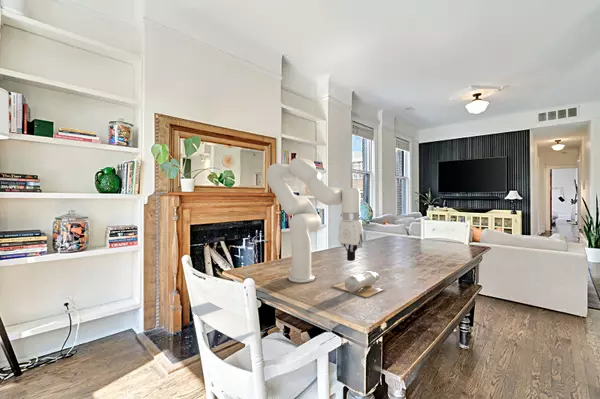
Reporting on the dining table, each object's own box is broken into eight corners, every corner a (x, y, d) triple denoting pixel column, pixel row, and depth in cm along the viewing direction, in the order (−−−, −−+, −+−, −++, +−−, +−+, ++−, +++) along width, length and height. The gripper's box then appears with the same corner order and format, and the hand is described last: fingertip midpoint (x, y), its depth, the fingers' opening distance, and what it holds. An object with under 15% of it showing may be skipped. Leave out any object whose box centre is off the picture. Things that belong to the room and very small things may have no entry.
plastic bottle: (358, 288, 112) (385, 279, 125) (349, 273, 115) (376, 266, 129) (348, 296, 115) (375, 286, 129) (340, 281, 119) (367, 273, 132)
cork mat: (332, 286, 125) (332, 285, 125) (349, 281, 133) (349, 280, 133) (366, 297, 111) (366, 296, 111) (383, 290, 119) (383, 289, 119)
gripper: (331, 216, 122) (331, 258, 122) (360, 218, 111) (360, 265, 111) (342, 215, 127) (343, 256, 127) (371, 217, 116) (371, 262, 116)
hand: (351, 260), depth 119 cm, fingers closed
